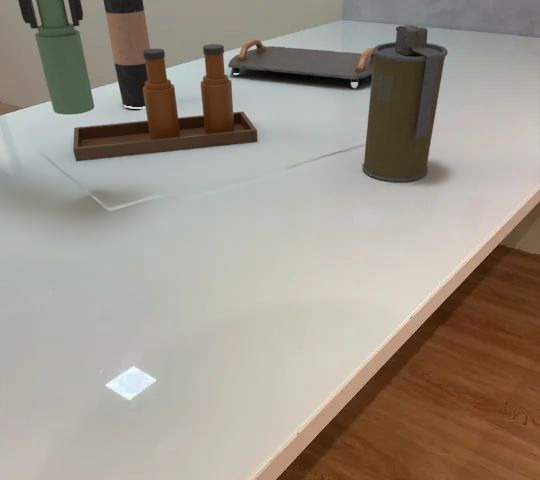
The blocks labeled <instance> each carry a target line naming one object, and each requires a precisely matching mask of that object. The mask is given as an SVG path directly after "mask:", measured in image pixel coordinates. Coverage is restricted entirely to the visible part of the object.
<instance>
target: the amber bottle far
mask: <svg viewBox="0 0 540 480" xmlns="http://www.w3.org/2000/svg"><path fill="white" fill-rule="evenodd" d="M202 53H203V55H204V65H205V75H203V77H202V80H201V81H200V92H201V94H200V95H201V103H202V115H203V116H204V127H205V134H211V133H221V132H231V131H234V117H233V112H234V102H233V86H232V85H233V84H232V80H231V79H229V75H227V74H225V59H224V53H225V46H224V45H223V44H219V43H212V44H205V45H203V46H202Z"/></svg>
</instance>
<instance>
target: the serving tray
mask: <svg viewBox="0 0 540 480" xmlns="http://www.w3.org/2000/svg"><path fill="white" fill-rule="evenodd" d="M254 46H256V48H253V49H251V48H252V47H254ZM373 49H374V47H372V48H371V47H370V48H367V49H366V50H364V52H362V53H359V52H350V51H349V52H348V51H335V50H324V49H323V50H322V49H311V48H301V47H300V48H298V47H285V46H274V45H273V46H272V45H271V46H266V45H263V42H261V40H260V39H257V38H255V39H250V40H248V41H246V42H245V43H244V44H243V45H242V46H241V49H240V52H239V54H236V55H235V56H233V57H232V58H231V59H230V60H229V62H228V64H227V67H228V68H231V70H230V72H231V74H232V73H239V72H240V73H241V70H242V69H243V70H254V71H263V72H274V73H285V74H294V75H302V76H303V75H304V76H312V77H313V76H314V77H315V76H316V77H325V78H336V79H343V80H350V81H351V82H358V81H359V82H360V80H359V79H364V78H367V77H370V76H372V71H373V60H374V54H373ZM234 77H237V76H234Z"/></svg>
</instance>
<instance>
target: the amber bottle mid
mask: <svg viewBox="0 0 540 480" xmlns="http://www.w3.org/2000/svg"><path fill="white" fill-rule="evenodd" d="M165 52H166V51H165V50H164V49H163V48H150V49H147V50H144V51H143V56H144V59H145V63H146V70H147V77H148V81H146V82H145V86H144V87H143V94H144V100H145V107H146V109H145V111H146V113H145V114H146V117H147V118H146V119H147V120H146V121H148V126H149V133H150V139H151V140H152V139H162V138H172V137H180V129H179V121H178V118H179V114H178V105H177V97H176V88H175V85H174V84H173V83H172V81H171V79H168V75H167V68H166V60H165V57H166V53H165Z"/></svg>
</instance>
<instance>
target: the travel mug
mask: <svg viewBox="0 0 540 480" xmlns="http://www.w3.org/2000/svg"><path fill="white" fill-rule="evenodd" d="M102 1H103V6H104V11H105V17H106V23H107V30H108V35H109V40H110V47H111V52H112V53H111V54H112V59H113V63H114V64H113V65H114V68H115V73H116V79H117V83H118V87H119V92H120V97H121V98H120V99H121V102H122V105H123V104H124V105H126V106H132V107H143V106H145V100H144V94H143V87H144V86H145V82H146V81H148V77H147V70H146V63H145V59H144V56H143V51H144V50H147V49H151V47H150V39H149V31H148V27H147V26H148V25H147V20H146V13H145V6H144V0H102Z"/></svg>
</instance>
